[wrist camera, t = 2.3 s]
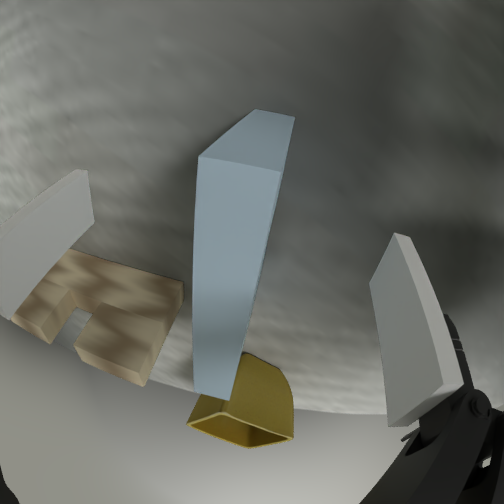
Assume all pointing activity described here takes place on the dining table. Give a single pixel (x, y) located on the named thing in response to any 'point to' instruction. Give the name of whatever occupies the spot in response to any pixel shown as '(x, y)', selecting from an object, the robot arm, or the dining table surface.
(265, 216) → the pale blue upright slab
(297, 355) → the dining table surface
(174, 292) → the tan wooden block
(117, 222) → the dining table surface
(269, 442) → the flower pot
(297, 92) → the dining table surface
